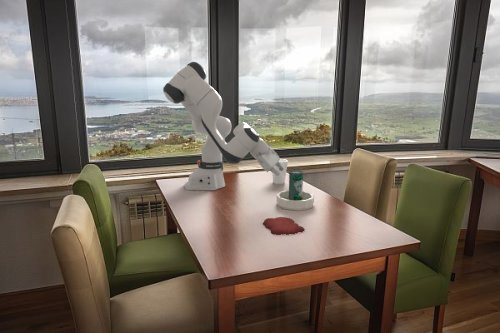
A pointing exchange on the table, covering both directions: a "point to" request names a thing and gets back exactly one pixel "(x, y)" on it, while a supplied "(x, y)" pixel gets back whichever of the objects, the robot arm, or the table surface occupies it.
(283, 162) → the foam cup
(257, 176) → the table surface
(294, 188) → the can
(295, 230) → the red flat splat
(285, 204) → the bowl
